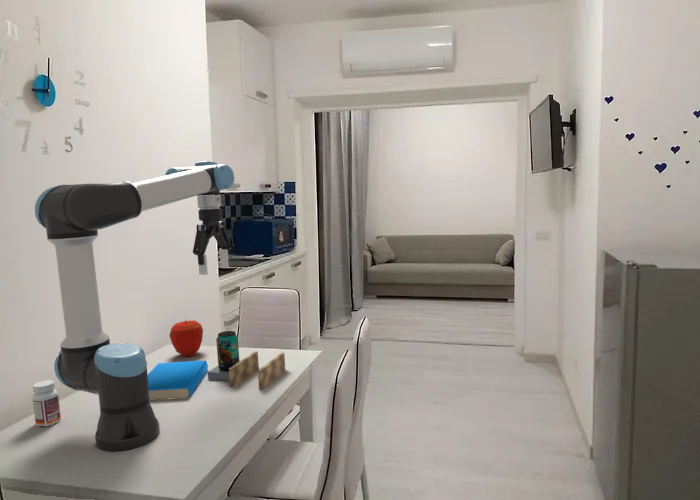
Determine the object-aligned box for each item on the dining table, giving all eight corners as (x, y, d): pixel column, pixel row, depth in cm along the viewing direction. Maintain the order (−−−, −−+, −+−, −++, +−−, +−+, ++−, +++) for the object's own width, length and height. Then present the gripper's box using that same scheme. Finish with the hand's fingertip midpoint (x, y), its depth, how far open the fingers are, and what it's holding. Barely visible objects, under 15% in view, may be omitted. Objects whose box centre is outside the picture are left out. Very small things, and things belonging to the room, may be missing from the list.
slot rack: (261, 389, 164) (260, 370, 164) (230, 387, 167) (228, 368, 167) (285, 369, 181) (284, 352, 181) (256, 367, 185) (255, 351, 184)
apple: (197, 348, 212) (194, 313, 210) (210, 354, 202) (207, 318, 201) (166, 355, 204) (163, 319, 202) (178, 362, 195) (175, 324, 193)
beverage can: (214, 369, 178) (211, 334, 176) (231, 363, 183) (229, 329, 182) (227, 373, 173) (224, 337, 172) (244, 367, 178) (241, 332, 177)
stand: (235, 381, 173) (234, 373, 172) (208, 379, 175) (207, 372, 175) (249, 370, 182) (249, 363, 182) (223, 369, 185) (223, 362, 185)
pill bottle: (63, 416, 151) (59, 378, 150) (57, 425, 145) (52, 385, 144) (39, 419, 149) (35, 380, 148) (32, 429, 143) (27, 388, 142)
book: (132, 390, 159) (157, 362, 184) (133, 404, 160) (158, 374, 184) (189, 386, 160) (207, 358, 185) (191, 400, 160) (208, 370, 185)
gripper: (198, 210, 164) (204, 277, 167) (238, 206, 188) (242, 265, 191) (177, 210, 167) (183, 277, 169) (219, 206, 190) (223, 265, 193)
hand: (214, 271), depth 180 cm, fingers open, 13 cm apart
